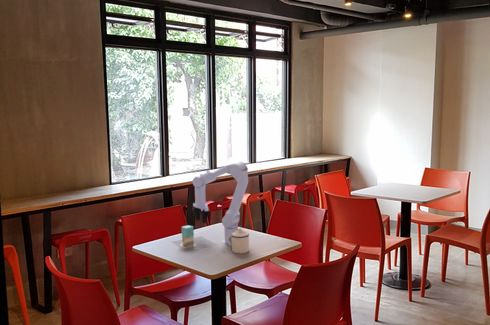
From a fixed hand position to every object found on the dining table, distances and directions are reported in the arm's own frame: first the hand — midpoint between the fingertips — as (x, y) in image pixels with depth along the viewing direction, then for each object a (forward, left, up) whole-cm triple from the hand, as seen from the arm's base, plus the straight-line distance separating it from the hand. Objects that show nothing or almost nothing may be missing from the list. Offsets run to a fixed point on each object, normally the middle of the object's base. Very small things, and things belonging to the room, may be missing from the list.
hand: (201, 221), depth 256 cm
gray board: (-7, +8, -10) cm, 14 cm away
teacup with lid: (-30, -6, -10) cm, 32 cm away
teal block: (-8, +12, -4) cm, 15 cm away
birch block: (-8, +12, -9) cm, 17 cm away
